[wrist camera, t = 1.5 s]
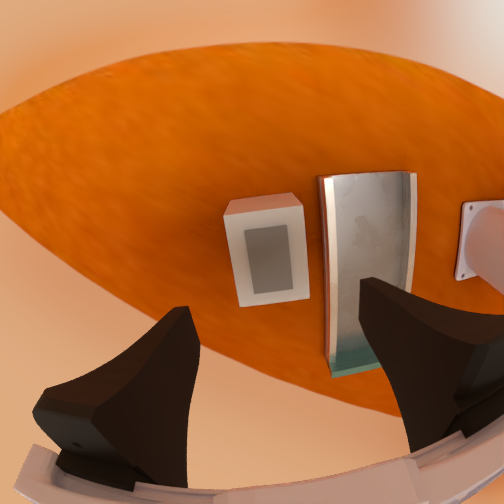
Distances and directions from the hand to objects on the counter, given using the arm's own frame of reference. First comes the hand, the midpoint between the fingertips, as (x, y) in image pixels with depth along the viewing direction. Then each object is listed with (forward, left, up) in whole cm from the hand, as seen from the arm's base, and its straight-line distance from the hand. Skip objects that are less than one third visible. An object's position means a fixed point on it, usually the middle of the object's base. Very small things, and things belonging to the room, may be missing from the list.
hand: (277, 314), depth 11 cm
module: (0, 0, -11) cm, 11 cm away
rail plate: (-8, +5, -11) cm, 14 cm away
